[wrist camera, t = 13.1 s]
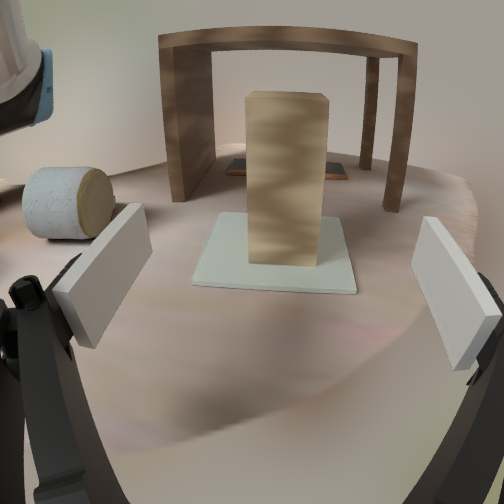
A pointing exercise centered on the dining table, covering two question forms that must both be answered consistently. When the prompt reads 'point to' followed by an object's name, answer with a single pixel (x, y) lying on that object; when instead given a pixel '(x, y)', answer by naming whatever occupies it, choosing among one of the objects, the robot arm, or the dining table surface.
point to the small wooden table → (273, 38)
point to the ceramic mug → (67, 202)
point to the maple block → (285, 175)
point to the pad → (273, 276)
